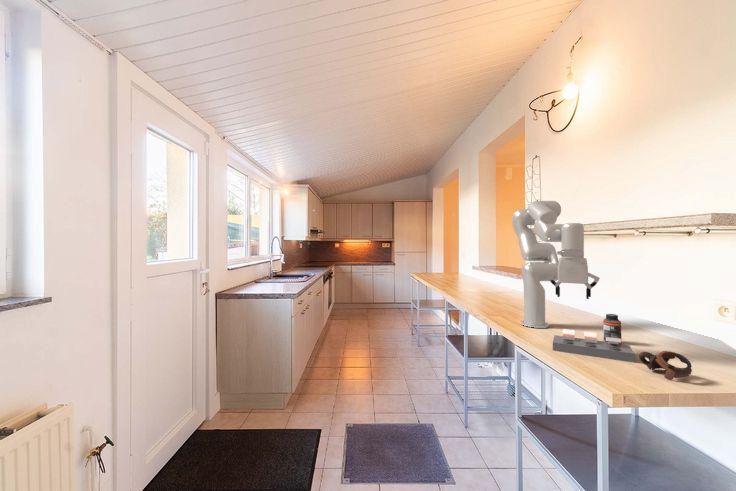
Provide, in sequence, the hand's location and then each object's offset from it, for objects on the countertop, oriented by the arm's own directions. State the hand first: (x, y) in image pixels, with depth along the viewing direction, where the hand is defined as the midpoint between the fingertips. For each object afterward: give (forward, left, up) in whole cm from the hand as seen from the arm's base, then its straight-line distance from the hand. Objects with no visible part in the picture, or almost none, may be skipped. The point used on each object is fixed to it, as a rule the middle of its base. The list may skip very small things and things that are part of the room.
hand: (572, 297), depth 127 cm
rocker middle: (+1, +6, -16) cm, 17 cm away
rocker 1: (+1, -1, -16) cm, 16 cm away
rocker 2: (+2, +13, -16) cm, 20 cm away
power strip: (+4, +6, -19) cm, 20 cm away
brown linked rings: (+18, +24, -20) cm, 36 cm away
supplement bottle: (-15, +14, -19) cm, 28 cm away
